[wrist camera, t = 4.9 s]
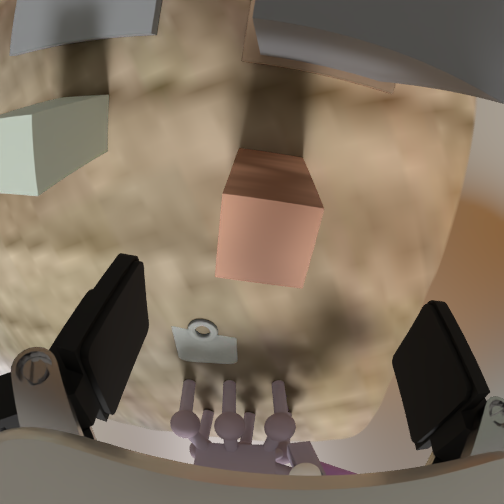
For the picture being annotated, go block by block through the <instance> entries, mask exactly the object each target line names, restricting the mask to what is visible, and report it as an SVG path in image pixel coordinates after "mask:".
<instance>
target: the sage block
mask: <svg viewBox="0 0 504 504" xmlns="http://www.w3.org/2000/svg"><path fill="white" fill-rule="evenodd" d="M108 104H109V95H89V96H74V97H62V98H58V99H53V100H49V101H45V102H41V103H38V104H34V105H30V106H27V107H23V108H20V109H17V110H13V111H10V112H7V113H4V114H1V115H0V193H7V194H19V195H31V196H39V195H41V194H42V193H43V192H45V191H46V190H48V189H49V188H50V187H52V186H53V185H55V184H56V183H58V182H59V181H61V180H62V179H64V178H65V177H67V176H68V175H70V174H71V173H73V172H75V171H76V170H78V169H79V168H81V167H82V166H84V165H86V164H87V163H89V162H91V161H92V160H94V159H96V158H97V157H99V156H101V155H102V154H104V153H106V152H107V151H108Z"/></svg>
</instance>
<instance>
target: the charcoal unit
mask: <svg viewBox="0 0 504 504" xmlns="http://www.w3.org/2000/svg"><path fill="white" fill-rule="evenodd" d="M241 61H242V62H249V63H257V64H265V65H271V66H278V67H284V68H289V69H295V70H300V71H305V72H310V73H315V74H320V75H324V76H328V77H333V78H337V79H341V80H345V81H349V82H352V83H356V84H360V85H363V86H367V87H370V88H373V89H377V90H380V91H383V92H386V93H391V94H393V92H394V87H395V83H399V84H408V85H415V86H422V87H429V88H435V89H441V90H446V91H452V92H457V93H462V94H466V95H471V96H475V97H479V98H484V99H488V100H491V101H495V102H499V103H504V0H251V4H250V10H249V16H248V22H247V28H246V35H245V41H244V47H243V54H242V60H241Z"/></svg>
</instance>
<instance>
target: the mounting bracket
mask: <svg viewBox="0 0 504 504" xmlns="http://www.w3.org/2000/svg"><path fill="white" fill-rule="evenodd" d="M198 326H205V327H207V328H208V329H209V330H210V333H207V334H200V333H199V332H198V331H196V330H195V329H196V327H198ZM171 327H172V331H173V335H174V339H175V343H176V348H177V352H178V356H179V358H181V359H182V360H185V361H191V362H204V363H220V364H233V363H235V362H237V361H238V358H237V340H236V338H233V337H227V336H221V335H218V329H217V326H216V325H214V324H213V323H212V322H210V321H208V320H204V319H195V320H193V321H191V322H190V323H189V325H188V329H183V328H178V327H174V326H171Z"/></svg>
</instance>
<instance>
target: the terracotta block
mask: <svg viewBox="0 0 504 504" xmlns="http://www.w3.org/2000/svg"><path fill="white" fill-rule="evenodd" d="M323 212H324V207H323V204H322V202H321V200H320V197H319V195H318V192H317V190H316V187H315V185H314V183H313V180H312V178H311V175H310V173H309V171H308V168H307V166H306V164H305V162H304V159H303V158H302V157H296V156H290V155H284V154H278V153H272V152H265V151H258V150H251V149H243V148H239V150H238V153H237V156H236V158H235V161H234V164H233V166H232V169H231V172H230V175H229V177H228V180H227V183H226V186H225V188H224V191H223V195H222V205H221V215H220V225H219V236H218V247H217V259H216V270H215V277H219V278H226V279H233V280H241V281H248V282H256V283H263V284H271V285H279V286H287V287H295V288H303V285H304V282H305V278H306V275H307V271H308V268H309V264H310V260H311V257H312V253H313V250H314V246H315V242H316V238H317V235H318V231H319V227H320V223H321V219H322V215H323Z"/></svg>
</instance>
